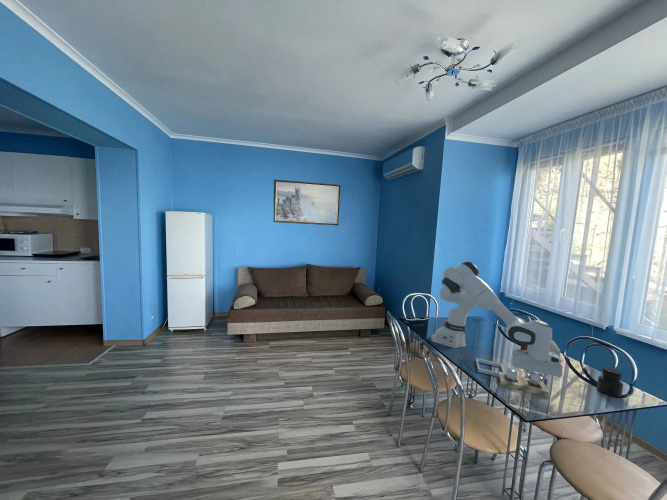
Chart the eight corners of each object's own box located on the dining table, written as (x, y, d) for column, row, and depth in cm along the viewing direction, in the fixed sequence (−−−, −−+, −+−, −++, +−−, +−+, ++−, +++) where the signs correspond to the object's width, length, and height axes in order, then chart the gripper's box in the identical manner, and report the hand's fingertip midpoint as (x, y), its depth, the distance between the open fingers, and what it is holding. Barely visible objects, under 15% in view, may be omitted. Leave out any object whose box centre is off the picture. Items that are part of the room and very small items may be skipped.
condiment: (533, 358, 170) (536, 340, 169) (528, 361, 166) (530, 342, 165) (520, 353, 176) (523, 335, 175) (515, 356, 172) (517, 338, 171)
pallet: (500, 386, 137) (501, 381, 137) (497, 376, 146) (498, 371, 146) (548, 398, 129) (549, 392, 129) (542, 387, 138) (543, 381, 138)
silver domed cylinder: (506, 384, 138) (508, 371, 138) (504, 379, 142) (506, 367, 142) (516, 386, 136) (518, 373, 136) (514, 382, 141) (516, 369, 140)
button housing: (530, 382, 142) (531, 375, 142) (527, 375, 149) (527, 369, 148) (546, 386, 139) (547, 378, 139) (542, 379, 146) (543, 372, 145)
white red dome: (529, 354, 176) (532, 332, 175) (536, 349, 184) (539, 328, 183) (556, 363, 165) (559, 340, 164) (562, 357, 174) (565, 335, 172)
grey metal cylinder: (529, 386, 134) (531, 373, 133) (527, 382, 138) (528, 369, 137) (540, 389, 132) (542, 376, 132) (537, 384, 136) (539, 371, 136)
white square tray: (477, 372, 149) (478, 368, 149) (475, 361, 161) (476, 358, 161) (505, 379, 144) (506, 374, 144) (501, 367, 156) (501, 363, 156)
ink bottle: (627, 397, 133) (631, 374, 132) (613, 399, 131) (617, 376, 130) (603, 386, 143) (607, 364, 142) (591, 387, 141) (594, 365, 140)
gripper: (514, 350, 135) (511, 376, 136) (565, 361, 127) (561, 388, 128) (512, 345, 141) (509, 370, 142) (560, 355, 133) (556, 381, 134)
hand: (534, 379), depth 135 cm, fingers closed on grey metal cylinder, 4 cm apart
